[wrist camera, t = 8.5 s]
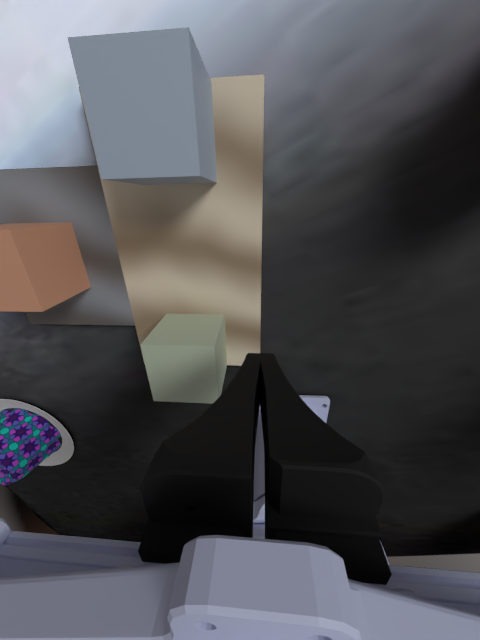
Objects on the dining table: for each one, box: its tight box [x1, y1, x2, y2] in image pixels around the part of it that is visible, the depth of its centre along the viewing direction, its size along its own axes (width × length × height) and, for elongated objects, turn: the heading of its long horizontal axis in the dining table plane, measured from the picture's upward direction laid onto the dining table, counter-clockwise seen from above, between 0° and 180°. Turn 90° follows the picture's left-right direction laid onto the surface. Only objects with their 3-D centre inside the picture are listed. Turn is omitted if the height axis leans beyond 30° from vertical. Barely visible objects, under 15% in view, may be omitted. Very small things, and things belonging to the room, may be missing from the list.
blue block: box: [68, 28, 217, 185], centre depth 13 cm, size 5×5×5 cm
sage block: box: [141, 314, 227, 403], centre depth 19 cm, size 5×5×5 cm
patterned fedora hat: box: [0, 399, 74, 485], centre depth 29 cm, size 12×12×5 cm
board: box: [0, 75, 264, 366], centre depth 19 cm, size 20×21×1 cm
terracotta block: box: [0, 222, 91, 312], centre depth 17 cm, size 5×5×5 cm
